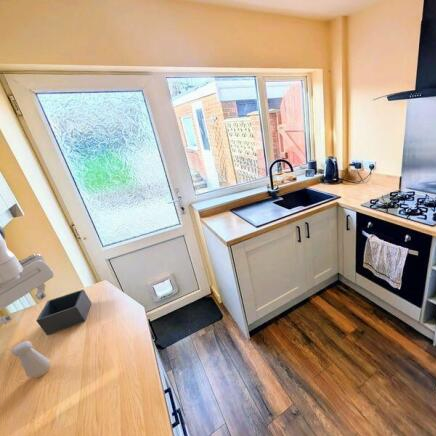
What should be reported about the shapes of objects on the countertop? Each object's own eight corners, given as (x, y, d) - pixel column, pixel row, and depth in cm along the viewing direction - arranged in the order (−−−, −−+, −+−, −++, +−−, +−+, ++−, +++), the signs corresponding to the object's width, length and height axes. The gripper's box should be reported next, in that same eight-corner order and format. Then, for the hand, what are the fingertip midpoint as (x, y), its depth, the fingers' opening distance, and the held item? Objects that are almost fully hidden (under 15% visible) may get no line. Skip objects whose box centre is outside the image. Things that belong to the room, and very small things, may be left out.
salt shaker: (52, 360, 86) (32, 334, 80) (53, 371, 82) (32, 344, 76) (30, 372, 82) (7, 346, 77) (30, 384, 78) (6, 357, 73)
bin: (46, 335, 97) (36, 320, 93) (57, 314, 107) (47, 300, 104) (85, 321, 101) (76, 307, 98) (91, 302, 112) (83, 289, 108)
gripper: (30, 251, 78) (52, 285, 83) (-63, 297, 59) (-26, 337, 65) (46, 251, 76) (67, 286, 82) (-43, 298, 58) (-8, 339, 64)
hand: (25, 309), depth 73 cm, fingers open, 8 cm apart
